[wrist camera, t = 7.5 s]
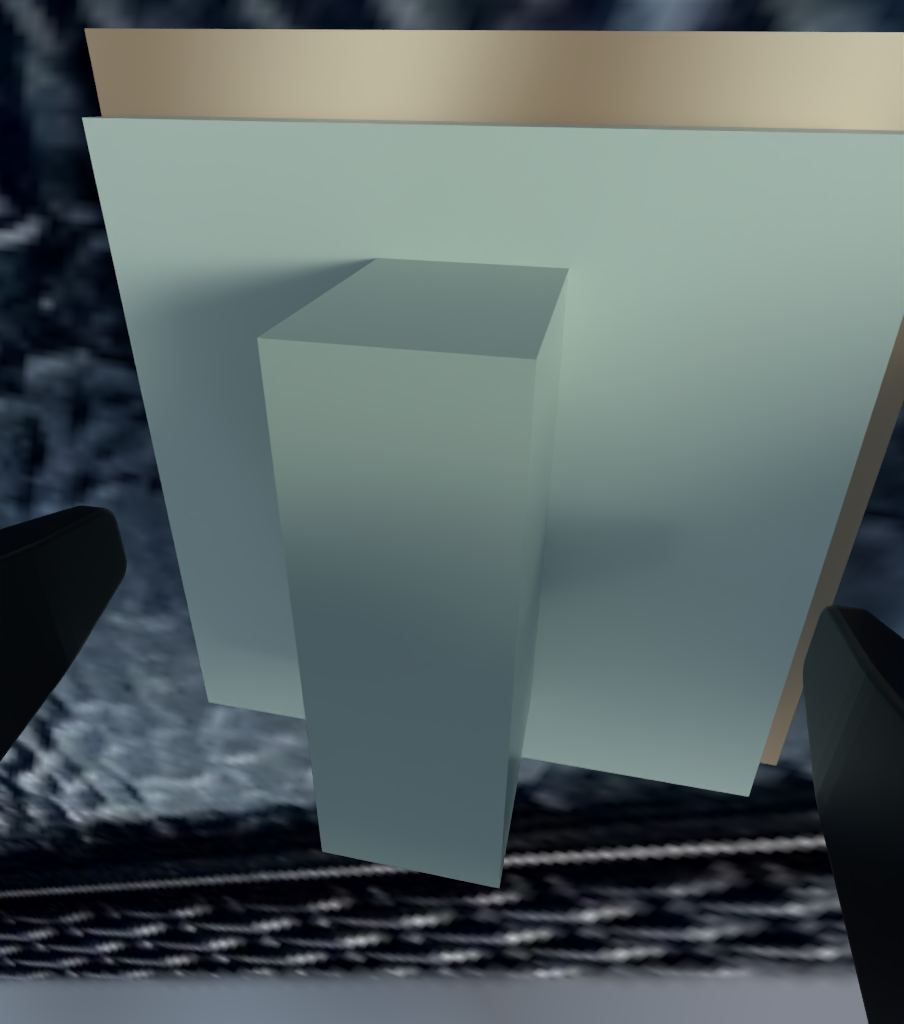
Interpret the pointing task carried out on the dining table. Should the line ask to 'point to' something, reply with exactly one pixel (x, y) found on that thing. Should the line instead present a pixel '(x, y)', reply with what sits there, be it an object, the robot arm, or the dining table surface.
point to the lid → (501, 436)
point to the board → (543, 99)
